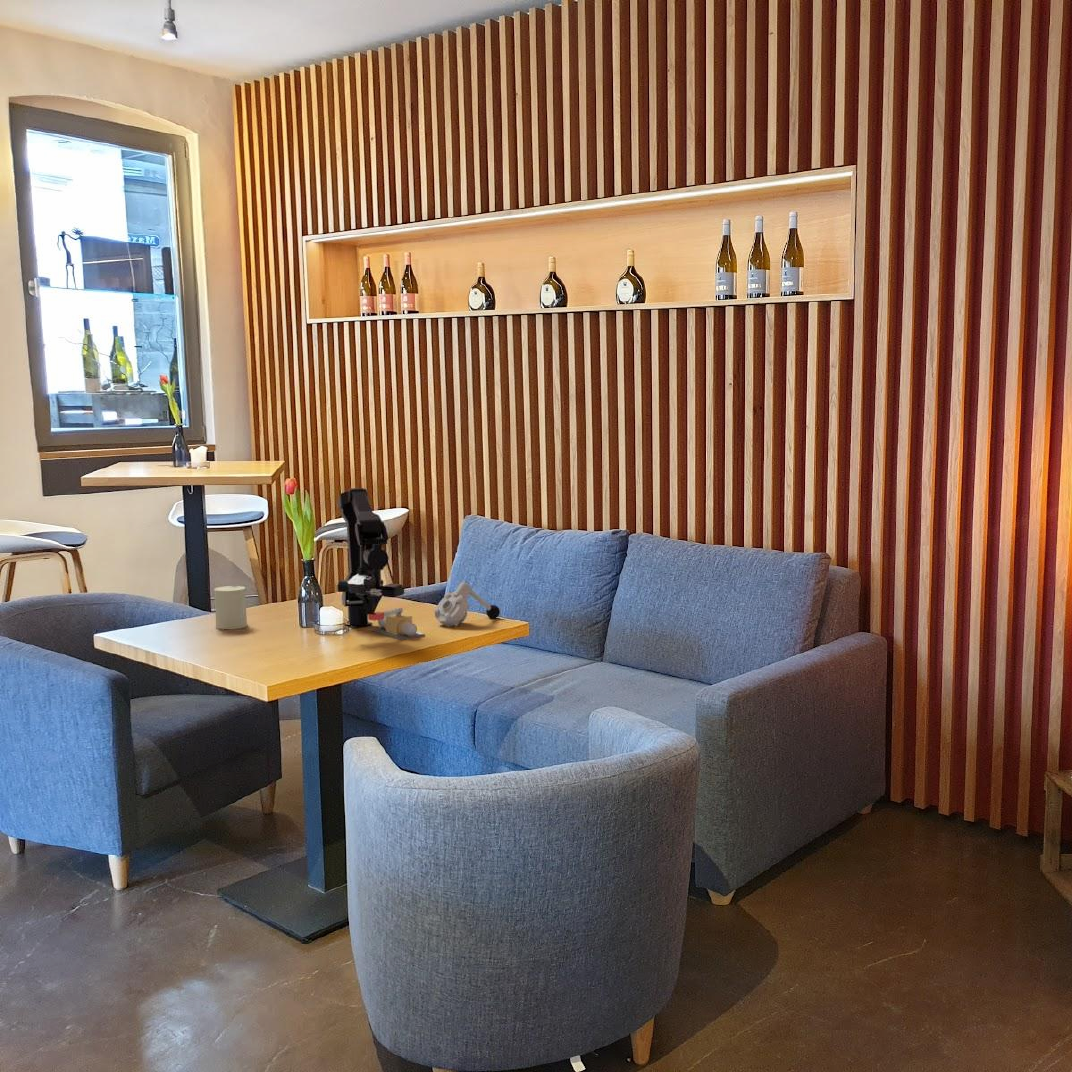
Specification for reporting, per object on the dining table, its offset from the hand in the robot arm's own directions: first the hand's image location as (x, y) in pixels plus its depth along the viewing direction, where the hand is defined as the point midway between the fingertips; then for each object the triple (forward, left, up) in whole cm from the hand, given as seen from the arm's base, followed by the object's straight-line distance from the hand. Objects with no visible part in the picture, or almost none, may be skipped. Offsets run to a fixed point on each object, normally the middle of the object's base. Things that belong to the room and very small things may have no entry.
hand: (370, 618), depth 316 cm
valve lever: (+1, +5, 0) cm, 5 cm away
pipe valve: (-1, +10, -6) cm, 11 cm away
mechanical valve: (-3, +35, -6) cm, 36 cm away
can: (-43, -23, -6) cm, 49 cm away
